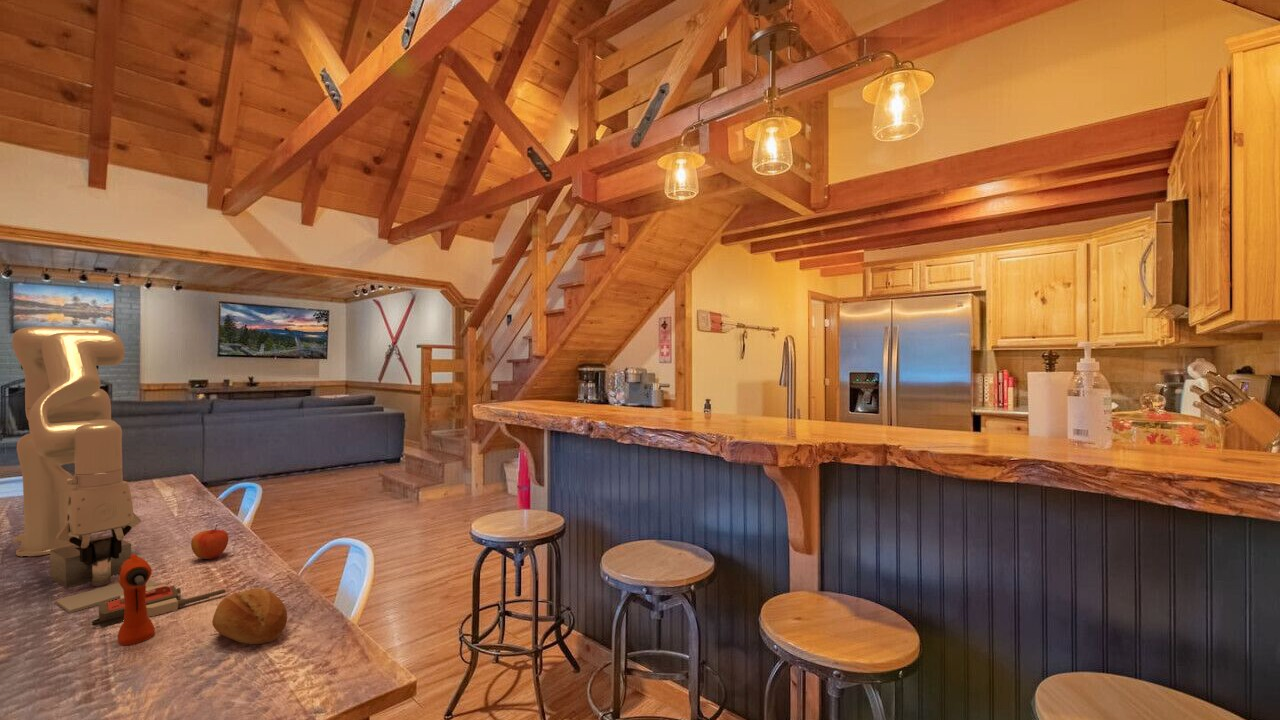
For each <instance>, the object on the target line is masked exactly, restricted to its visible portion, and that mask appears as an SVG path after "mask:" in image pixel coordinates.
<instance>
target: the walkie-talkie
mask: <svg viewBox="0 0 1280 720" xmlns="http://www.w3.org/2000/svg"><path fill="white" fill-rule="evenodd" d="M226 592H227V591H226V589H220V590H215V591H212V592H208V593H204V594H203V593H202V594H200V595H196V596H193V597H188V598H182V594H181V588H176V586H175V585H173V586H169V584H167V583H159V585H156V586H152V587H147V588H146V597H145V601H146V608H147V615H148V616H153V617H156V616H155V615H157V616H160V615H159V614H161V615H164V614H163V613H165V614H167V613H166V612H168V613H170V612H169V611H173V612H176V611H175V610H177V611H178V610H179V609H178V608H180V607H184V606H186V605H189V604H191V603H196V602H199V601H203V600H207V599H210V598H211V597H212V598H213V597H214V596H219V595H222V594H225V593H226ZM180 598H181V599H180ZM124 612H125V600H124V595H121V596H120V599H117V600H113V601H110V602H106V603H102V604H99V605H98V618H96V619H93V620H92V621H91V626H100V625H101V626H100V627H106V626H109V625H108V624H110V625H113V624H112V623H114V624H116V623H115V622H118V623H121V622H120V621H122V622H124V621H123V620H124Z"/></svg>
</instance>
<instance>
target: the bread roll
mask: <svg viewBox="0 0 1280 720" xmlns="http://www.w3.org/2000/svg"><path fill="white" fill-rule="evenodd" d="M287 611H288V610H287V609H286V606H285V604H284V603H283V601H282V600H281V599H280V597H279V596H278V595H276V594H275V593H274V592H272V591H270V590H267V589H265V588H262V587H261V588H251V589H245V590H243V591H239V592H234V593H231V594H230V595H228V596H226V597H224V598H222V600H221V601H220V602H219V603H218V605H217V607H216V609H215V612H214V615H213V617H212V626H213V628H214V629H215V631H216V632H217V633H218V634H220V635H222V636H223V637H226V638H229V639H231V640H233V641H235V642H239V643H242V644H250V645H251V644H252V645H259V644H260V645H261V644H266V643H269V642H272V641H275V640H277V639H279V638H280V636H281V635H282V633H283V632H284V630H285V628H286V626H287V622H288V612H287Z"/></svg>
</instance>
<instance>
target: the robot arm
mask: <svg viewBox="0 0 1280 720" xmlns="http://www.w3.org/2000/svg"><path fill="white" fill-rule="evenodd" d="M11 340H12V341H11V343H12V351H13V352H14V355H15V356H16V359H17V360H18V363H19V364H20V365H21V368H22V370H23V372H24V389H25V390H24V403H25V404H24V406H25V407H24V409H25V416H26V419H27V421H28V429H29V433H26V434H25V435H23V436H22V437H20V438H19V440H18V441H17V444H16V453H17V457H18V461H19V465H20V469H21V475H22V477H21V478H22V491H23V492H22V493H23V522H24V523H23V524H24V525H23V527H24V530H23V531H24V532H22V533H19V534H18V535H17V536H16V537H13V538H12V543H14V544H16V543H17V544H19V543H20V547H19V548H17V549H16V550H15V555H16V556H17V557H23V556H28V557H37V556H45V555H46V556H47V555H50V550H53V549H58V548H62V547H67V546H71V545H77V546H79V547H80V561H81V562H83V563H84V564H85V565H87V566H89V565H91V564H92V547H90V544H89V541H90V540H91V535H92V534H96V533H100V532H106V531H110V532H111V536H112V537H113V555H112V556H111V557H112V558H114V559H117V558H119V553H121V552H122V542H121V540H124V538H125V536H127V534H129V532H130V531H131V530H132V529H133V528H135V527H137V526H138V525H140V524H141V523H142V520H141V519H140V518H139V516H138V515H137V514H136V513H134V506H133V499H132V494H131V493H132V492H131V489H130V488H131V487H130V485H129V482H128V481H127V480H126V481H125V480H124V479H123V477H124V476H123V473H124V472H123V441H122V440H123V439H122V438H123V429H122V427H121V425H120V424H118V423H117V422H116V421H115V420H112V406H111V405H112V404H111V398H110V396H109V394H108V393H107V391H105V390H104V389H103V388H101V386H102V384H101V379H100V376H99V372H98V368H97V367H98V366H117V365H120V364H121V363H122V362H123V360H124V359H125V352H126V351H125V345H124V342H123V340H122V339H121V338H120V336H119V335H117V334H116V333H115V332H113V331H111V330H108V329H105V328H103V327H81V326H80V327H79V326H78V327H77V326H76V327H75V326H49V325H48V326H29V327H22V328H19V329H17V330H16V331H15V332H14V333H13V334H12V339H11ZM69 464H74V473H73V474H72V473H70V472H69V471H68V470H65V469H64V468H63V467H62V466H64V465H69Z"/></svg>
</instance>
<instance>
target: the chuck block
mask: <svg viewBox="0 0 1280 720" xmlns="http://www.w3.org/2000/svg"><path fill="white" fill-rule="evenodd" d="M121 542H122V552H121V553H119V558H117V559H114V558H112V557H111V577H113V575H114V576H117V574H118V575H120V568H121V566H122V564H123V563H124V562H125V561H126V560H127V559H129V558H130V555H132V543H131V542H128V541H126V540H124V539H122V540H121ZM49 564H50V579H51V580H53V581H54V582H56V583H58V584H59V585H60V586H62V587H63V588H65V589H68V588H72V587H76V586H80V585H84V584H87V583H92V564H91V565H89V566H87V565H85V564H84V563H83V562H81V561H80V547H79V546H77V545H71V546H67V547H62V548H58V549H53V550H50V554H49Z"/></svg>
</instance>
